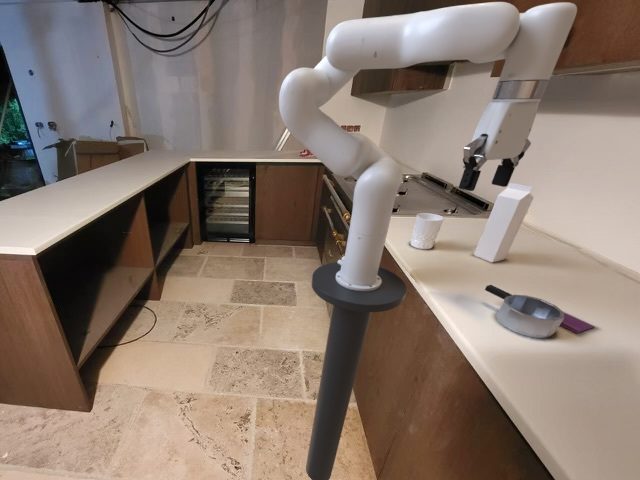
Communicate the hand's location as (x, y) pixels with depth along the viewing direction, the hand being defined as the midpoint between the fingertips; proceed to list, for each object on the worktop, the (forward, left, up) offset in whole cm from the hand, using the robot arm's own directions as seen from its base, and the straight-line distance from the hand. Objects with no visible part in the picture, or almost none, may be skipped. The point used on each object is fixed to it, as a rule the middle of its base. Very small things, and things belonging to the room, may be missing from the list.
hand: (482, 187), depth 69 cm
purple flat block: (+17, +15, -26) cm, 35 cm away
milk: (-11, +31, -26) cm, 42 cm away
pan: (+14, +5, -26) cm, 30 cm away
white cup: (-26, +19, -26) cm, 42 cm away
